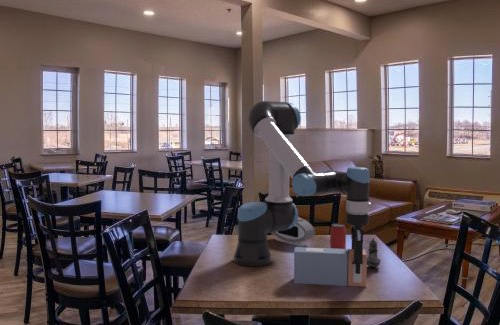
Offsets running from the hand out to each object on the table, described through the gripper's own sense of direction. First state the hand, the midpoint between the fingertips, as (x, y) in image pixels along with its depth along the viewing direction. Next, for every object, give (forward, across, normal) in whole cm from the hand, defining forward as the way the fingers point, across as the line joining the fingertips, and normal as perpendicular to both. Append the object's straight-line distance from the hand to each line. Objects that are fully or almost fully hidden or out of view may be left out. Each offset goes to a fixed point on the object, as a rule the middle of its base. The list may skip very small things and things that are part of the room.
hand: (356, 278), depth 145 cm
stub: (+2, 0, 0) cm, 2 cm away
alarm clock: (+2, +51, +25) cm, 57 cm away
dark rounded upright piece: (+2, +17, -8) cm, 19 cm away
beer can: (+2, +38, +4) cm, 38 cm away
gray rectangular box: (+2, 0, +12) cm, 12 cm away
